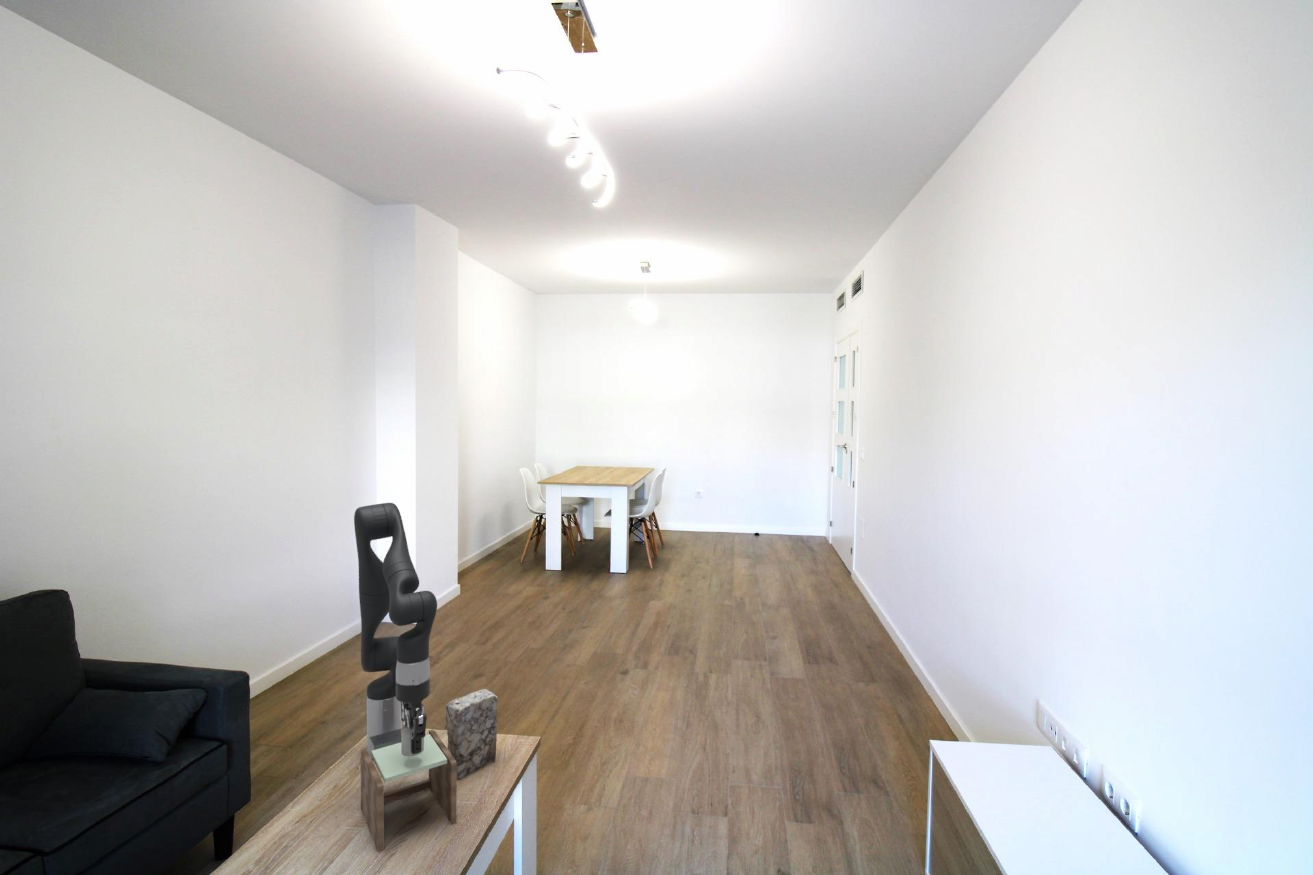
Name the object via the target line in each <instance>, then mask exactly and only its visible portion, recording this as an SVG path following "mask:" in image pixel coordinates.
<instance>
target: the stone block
mask: <svg viewBox="0 0 1313 875" xmlns="http://www.w3.org/2000/svg"><path fill="white" fill-rule="evenodd" d="M498 701H499V696H497V695H496V694H495V693H493V692H492V691H490V690H488V689H487V688H483V689H480V690H477V691H473V692H471V693H468V694H465V695H463V696H461V697H457V698H455V699H452V700H450V701H449V702H448V703H447V704H446V705H445V721H446V735H447V747H446V748H447V749H448V750H449V752H450V753H451V755H452V756H453V757H454V759H455V760H456V762H457V780H462V779H464V778H466V777H468V776H470V775H472V774H474V773H476V772H478V771H479V770H482V769H483V768H485V767H487V766H488V765H490V764H493V763H495V762H496V756H497V736H498V735H497V734H498V733H497V731H498V730H497V729H498V728H497V727H498V726H497V723H498V716H497V715H498Z"/></svg>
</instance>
